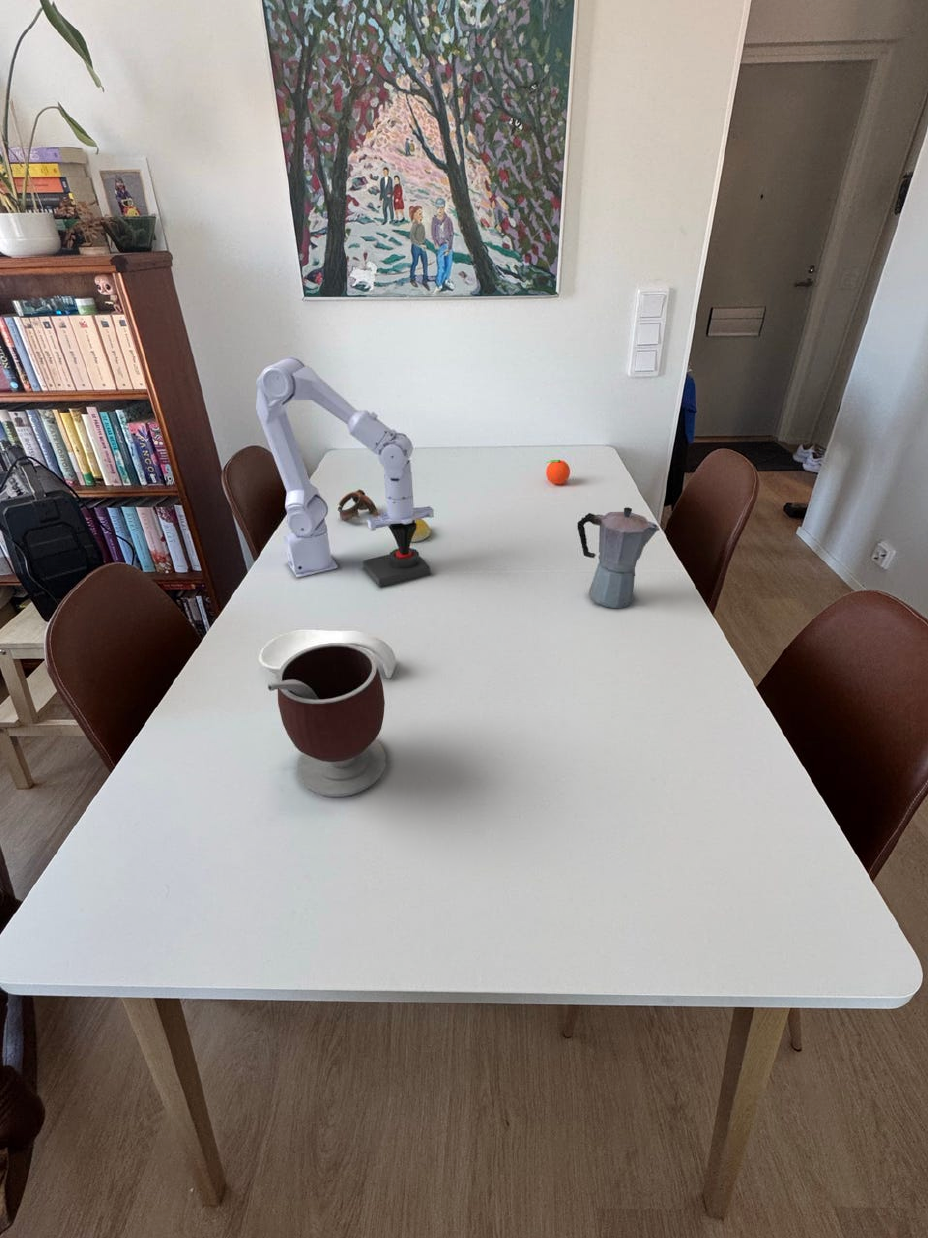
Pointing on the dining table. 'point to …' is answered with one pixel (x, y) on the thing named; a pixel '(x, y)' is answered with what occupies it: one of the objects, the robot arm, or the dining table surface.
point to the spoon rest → (299, 640)
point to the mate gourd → (333, 716)
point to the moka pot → (616, 554)
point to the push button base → (396, 568)
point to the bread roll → (421, 531)
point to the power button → (403, 555)
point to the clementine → (557, 471)
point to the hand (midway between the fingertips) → (403, 552)
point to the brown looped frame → (356, 505)
